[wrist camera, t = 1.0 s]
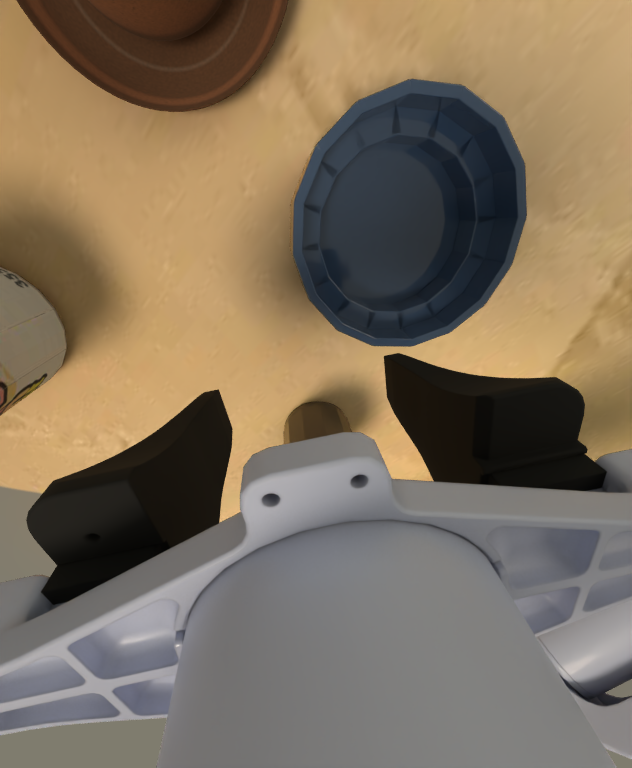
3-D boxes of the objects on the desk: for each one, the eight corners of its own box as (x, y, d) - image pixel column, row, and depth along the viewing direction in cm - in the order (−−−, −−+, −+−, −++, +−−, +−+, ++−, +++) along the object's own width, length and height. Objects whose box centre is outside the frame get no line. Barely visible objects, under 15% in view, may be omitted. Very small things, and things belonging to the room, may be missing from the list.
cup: (360, 427, 27) (385, 489, 21) (313, 463, 29) (324, 532, 22) (318, 388, 25) (333, 445, 19) (270, 429, 27) (269, 494, 20)
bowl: (509, 238, 22) (561, 243, 18) (368, 356, 25) (386, 384, 21) (409, 49, 17) (451, -2, 13) (247, 223, 20) (240, 225, 16)
